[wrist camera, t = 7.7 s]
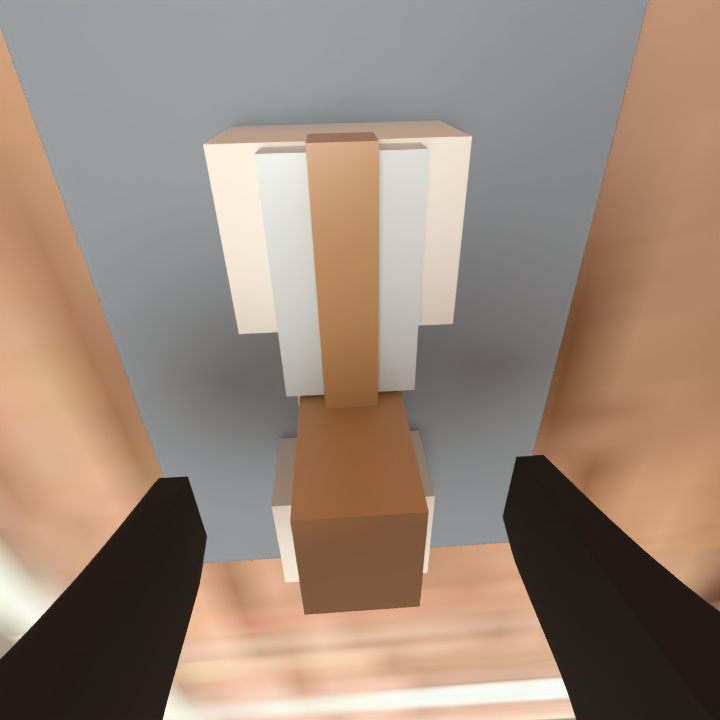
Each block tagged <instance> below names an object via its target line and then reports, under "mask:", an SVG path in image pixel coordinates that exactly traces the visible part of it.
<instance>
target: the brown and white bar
mask: <svg viewBox="0 0 720 720" xmlns="http://www.w3.org/2000/svg"><path fill="white" fill-rule="evenodd" d="M305 144H306V146H279V147H260V148H259V149H258V150H257V151H256V153H255V154H254V155H255V162H256V170H257V178H258V185H259V193H260V200H261V208H262V215H263V223H264V231H265V238H266V246H267V253H268V261H269V268H270V276H271V284H272V291H273V299H274V306H275V314H276V321H277V329H278V337H279V344H280V352H281V359H282V367H283V374H284V382H285V390H286V397H287V396H300V402H299V415H298V428H297V440H296V453H295V465H294V478H293V490H292V503H291V515H290V524H291V530H292V536H293V543H294V549H295V556H296V562H297V569H298V575H299V581H300V588H301V594H302V601H303V607H304V614H305V615H306V614H320V613H334V612H348V611H361V610H375V609H389V608H403V607H417V606H420V597H421V586H422V576H423V566H424V556H425V545H426V535H427V525H428V515H429V511H428V507H427V502H426V498H425V494H424V489H423V485H422V480H421V476H420V472H419V467H418V463H417V459H416V454H415V450H414V446H413V441H412V437H411V433H410V428H409V424H408V419H407V415H406V411H405V406H404V402H403V398H402V393H401V391H403V390H414V389H415V372H416V355H417V338H418V321H419V304H420V287H421V270H422V254H423V237H424V220H425V203H426V186H427V169H428V152H429V149H428V148H427V147H426V146H424V145H423V144H422V143H421V142H420V143H385V144H379V140H378V138H377V137H376V136H375V134H374V133H373V132H354V133H317V134H308V135H307V139H306V143H305Z"/></svg>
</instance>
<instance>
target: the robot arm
mask: <svg viewBox="0 0 720 720" xmlns="http://www.w3.org/2000/svg"><path fill="white" fill-rule="evenodd" d="M503 521H504V525H505V528H506V532H507V536H508V539H509V543H510V546H511V550H512V553H513V557H514V560H515V563H516V566H517V568H518V571H519V573H520V576H521V578H522V581H523V583H524V585H525V588H526V590H527V593H528V595H529V598H530V600H531V603H532V605H533V607H534V610H535V612H536V615H537V617H538V619H539V622H540V624H541V627H542V629H543V632H544V634H545V636H546V639H547V641H548V644H549V646H550V648H551V651H552V653H553V656H554V658H555V661H556V663H557V665H558V668H559V670H560V673H561V676H562V679H563V681H564V684H565V687H566V689H567V692H568V695H569V698H570V701H571V704H572V707H573V711H574V714H575V717H576V720H720V612H719V611H718V610H717V609H715V608H714V607H713V606H711V605H710V604H709V603H707V602H706V601H705V600H703V599H702V598H701V597H700V596H698V595H697V594H696V593H695V592H693V591H692V590H691V589H690V588H688V587H687V586H686V585H685V584H683V583H682V582H681V581H680V580H679V579H677V578H676V577H675V576H674V575H673V574H671V573H670V572H669V571H668V570H667V569H665V568H664V567H663V566H662V565H661V564H660V563H658V562H657V561H656V560H655V559H654V558H652V557H651V556H650V555H649V554H648V553H647V552H646V551H644V550H643V549H642V548H641V547H640V546H639V545H638V544H636V543H635V542H634V541H633V540H632V539H631V538H630V537H629V536H628V535H627V534H626V533H624V532H623V531H622V530H621V529H620V528H619V527H618V526H617V525H616V524H615V523H614V522H612V521H611V520H610V519H609V518H608V517H607V516H606V515H605V514H604V513H603V512H602V511H601V510H600V509H599V508H597V507H596V506H595V505H594V504H593V503H592V502H591V501H590V500H589V499H588V498H587V497H586V496H585V495H584V494H583V493H582V492H581V491H580V490H579V489H578V488H577V487H576V486H575V485H574V484H573V483H572V482H571V481H570V480H569V479H568V478H567V477H565V476H564V475H563V474H562V473H561V472H560V471H559V470H558V469H557V468H556V467H555V466H554V465H553V464H552V463H551V462H550V461H549V460H548V459H547V458H546V457H545V456H544V455H535V456H518V457H516V460H515V465H514V469H513V473H512V478H511V482H510V486H509V491H508V495H507V499H506V504H505V508H504V512H503ZM206 541H207V534H206V531H205V528H204V525H203V522H202V519H201V516H200V513H199V509H198V506H197V503H196V500H195V497H194V494H193V491H192V488H191V485H190V481H189V478H188V476H186V477H169V478H159V479H158V480H157V481H156V482H155V483H154V484H153V486H152V487H151V488H150V489H149V491H148V492H147V493H146V494H145V496H144V497H143V498H142V499H141V501H140V502H139V503H138V504H137V506H136V507H135V508H134V509H133V511H132V512H131V513H130V514H129V516H128V517H127V518H126V519H125V521H124V522H123V523H122V524H121V526H120V527H119V528H118V529H117V530H116V532H115V533H114V534H113V535H112V537H111V538H110V539H109V540H108V541H107V543H106V544H105V545H104V546H103V547H102V549H101V550H100V551H99V552H98V553H97V554H96V556H95V557H94V558H93V559H92V560H91V562H90V563H89V564H88V565H87V566H86V567H85V569H84V570H83V571H82V572H81V573H80V574H79V576H78V577H77V578H76V579H75V580H74V581H73V582H72V584H71V585H70V586H69V587H68V588H67V589H66V590H65V591H64V592H63V593H62V594H61V596H60V597H59V598H58V599H57V600H56V601H55V602H54V603H53V604H52V605H51V607H50V608H49V609H48V610H47V611H46V612H45V613H44V614H43V615H42V616H41V618H40V619H39V620H38V621H37V622H36V623H35V624H34V625H33V626H32V627H31V628H30V629H29V630H28V631H27V632H26V633H25V634H24V635H23V636H22V638H21V639H20V640H19V641H18V642H17V643H16V644H15V645H14V646H13V647H12V648H11V649H10V650H9V651H8V652H7V653H6V654H5V655H4V656H3V657H2V658H1V659H0V720H163V716H164V712H165V708H166V704H167V700H168V696H169V692H170V689H171V685H172V682H173V678H174V675H175V671H176V668H177V664H178V660H179V657H180V653H181V650H182V646H183V643H184V639H185V635H186V632H187V628H188V625H189V621H190V618H191V614H192V610H193V607H194V603H195V599H196V596H197V592H198V588H199V584H200V579H201V573H202V567H203V561H204V554H205V547H206Z"/></svg>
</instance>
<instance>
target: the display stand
mask: <svg viewBox="0 0 720 720" xmlns="http://www.w3.org/2000/svg"><path fill="white" fill-rule="evenodd" d="M648 1H649V0H0V29H1V31H2V34H3V37H4V40H5V42H6V45H7V48H8V51H9V53H10V56H11V59H12V62H13V64H14V67H15V70H16V73H17V75H18V78H19V81H20V84H21V86H22V89H23V92H24V95H25V97H26V100H27V103H28V106H29V108H30V111H31V114H32V117H33V119H34V122H35V125H36V128H37V130H38V133H39V136H40V139H41V141H42V144H43V147H44V150H45V152H46V155H47V158H48V161H49V163H50V166H51V169H52V172H53V174H54V177H55V180H56V183H57V186H58V188H59V191H60V194H61V197H62V199H63V202H64V205H65V208H66V210H67V213H68V216H69V219H70V221H71V224H72V227H73V230H74V232H75V235H76V238H77V241H78V243H79V246H80V249H81V252H82V254H83V257H84V260H85V263H86V265H87V268H88V271H89V274H90V276H91V279H92V282H93V285H94V287H95V290H96V293H97V296H98V298H99V301H100V304H101V307H102V309H103V312H104V315H105V318H106V320H107V323H108V326H109V329H110V331H111V334H112V337H113V340H114V342H115V345H116V348H117V351H118V353H119V356H120V359H121V362H122V364H123V367H124V370H125V373H126V375H127V378H128V381H129V384H130V387H131V389H132V392H133V395H134V398H135V400H136V403H137V406H138V409H139V411H140V414H141V417H142V420H143V422H144V425H145V428H146V431H147V433H148V436H149V439H150V442H151V444H152V447H153V450H154V453H155V455H156V458H157V461H158V464H159V466H160V469H161V472H162V475H163V477H164V478H169V477H186V476H188V478H189V481H190V485H191V488H192V491H193V494H194V497H195V500H196V503H197V506H198V509H199V513H200V516H201V519H202V522H203V525H204V528H205V531H206V534H207V541H206V547H205V554H204V561H203V563H215V562H230V561H244V560H259V559H274V558H281V560H282V565H283V570H284V576H285V581H286V582H299V575H298V569H297V562H296V556H295V549H294V543H293V536H292V530H291V524H290V515H291V503H292V490H293V478H294V465H295V453H296V440H297V428H298V415H299V402H300V396H287V397H286V390H285V382H284V374H283V367H282V359H281V352H280V344H279V337H278V329H277V321H276V314H275V306H274V299H273V291H272V284H271V276H270V268H269V261H268V253H267V246H266V238H265V231H264V223H263V215H262V208H261V200H260V193H259V185H258V178H257V170H256V162H255V155H254V154H255V153H256V151H257V150H258V149H259V148H260V147H279V146H306V144H305V143H306V139H307V135H308V134H317V133H354V132H373V133H374V134H375V136H376V137H377V138H378V140H379V144H385V143H420V142H421V143H422V144H423V145H424V146H426V147H427V148H428V149H429V152H428V169H427V186H426V203H425V220H424V237H423V254H422V270H421V287H420V304H419V321H418V338H417V355H416V372H415V389H414V390H403V391H401V393H402V398H403V402H404V406H405V411H406V415H407V419H408V424H409V428H410V433H411V437H412V441H413V446H414V450H415V454H416V459H417V463H418V467H419V472H420V476H421V480H422V485H423V489H424V494H425V498H426V502H427V507H428V511H429V515H428V525H427V535H426V545H425V556H424V566H423V573H427V570H428V561H429V551H430V548H436V547H451V546H465V545H480V544H495V543H509V539H508V536H507V532H506V528H505V525H504V521H503V512H504V508H505V504H506V499H507V495H508V491H509V486H510V482H511V478H512V473H513V469H514V465H515V460H516V457H518V456H532V455H533V451H534V447H535V443H536V439H537V435H538V431H539V427H540V423H541V419H542V416H543V412H544V408H545V404H546V400H547V396H548V392H549V388H550V384H551V380H552V376H553V372H554V369H555V365H556V361H557V357H558V353H559V349H560V345H561V341H562V337H563V333H564V329H565V325H566V322H567V318H568V314H569V310H570V306H571V302H572V298H573V294H574V290H575V286H576V282H577V279H578V275H579V271H580V267H581V263H582V259H583V255H584V251H585V247H586V243H587V239H588V235H589V232H590V228H591V224H592V220H593V216H594V212H595V208H596V204H597V200H598V196H599V192H600V188H601V185H602V181H603V177H604V173H605V169H606V165H607V161H608V157H609V153H610V149H611V145H612V141H613V138H614V134H615V130H616V126H617V122H618V118H619V114H620V110H621V106H622V102H623V98H624V95H625V91H626V87H627V83H628V79H629V75H630V71H631V67H632V63H633V59H634V55H635V51H636V48H637V44H638V40H639V36H640V32H641V28H642V24H643V20H644V16H645V12H646V8H647V4H648Z"/></svg>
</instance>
